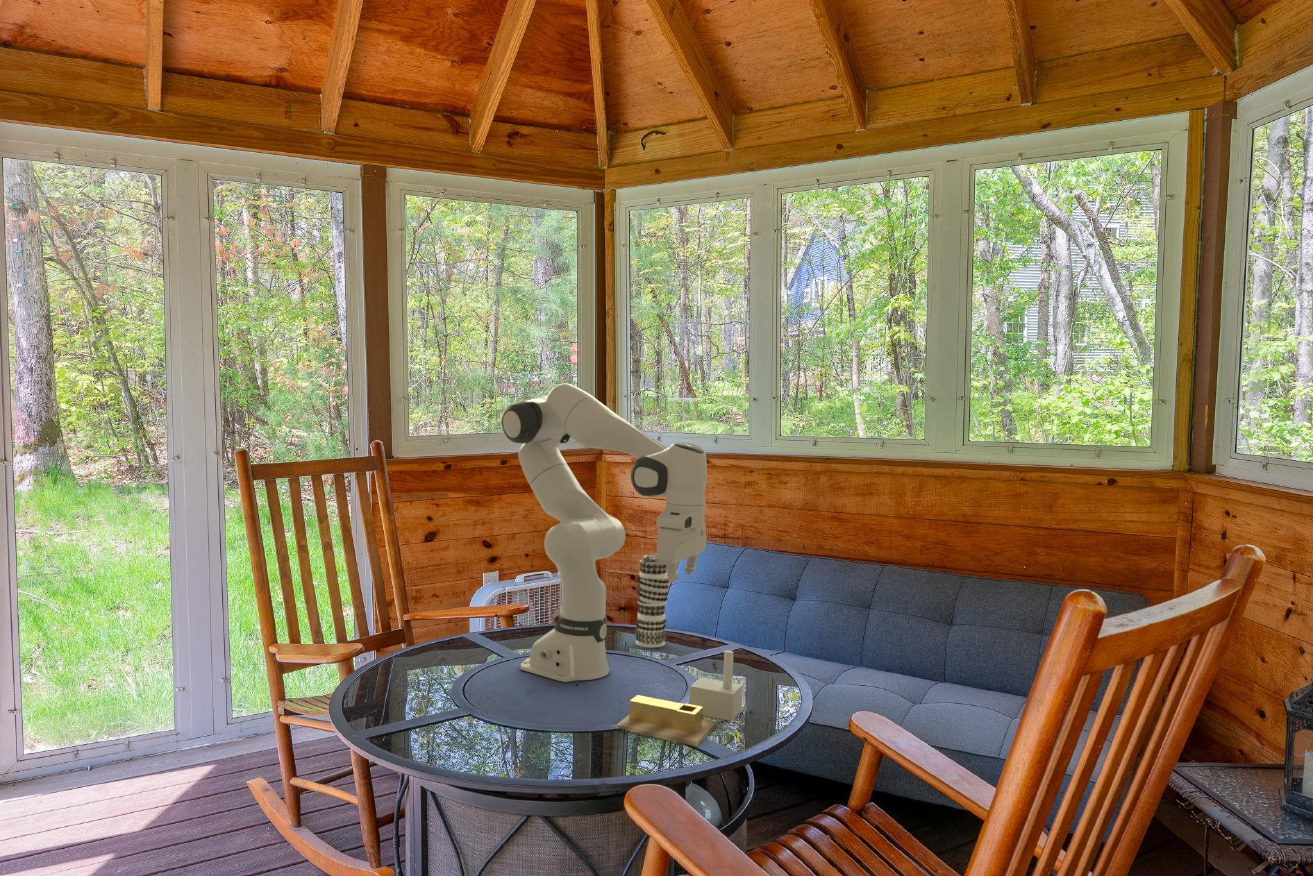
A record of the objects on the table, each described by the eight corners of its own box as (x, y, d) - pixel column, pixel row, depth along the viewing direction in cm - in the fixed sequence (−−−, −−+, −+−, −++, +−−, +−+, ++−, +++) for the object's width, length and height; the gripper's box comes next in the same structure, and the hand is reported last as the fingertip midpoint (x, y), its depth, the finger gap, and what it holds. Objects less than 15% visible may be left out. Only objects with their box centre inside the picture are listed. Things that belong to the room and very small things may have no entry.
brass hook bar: (627, 719, 181) (628, 701, 181) (637, 712, 186) (638, 694, 185) (693, 733, 175) (694, 714, 175) (702, 725, 180) (703, 706, 179)
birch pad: (616, 729, 178) (616, 724, 178) (639, 710, 189) (640, 706, 189) (696, 746, 171) (696, 741, 171) (716, 726, 182) (716, 721, 182)
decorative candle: (631, 646, 238) (634, 557, 237) (637, 637, 247) (640, 552, 246) (663, 649, 236) (667, 560, 235) (668, 640, 245) (672, 554, 244)
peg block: (688, 712, 189) (691, 650, 189) (699, 702, 196) (702, 642, 195) (731, 721, 185) (734, 657, 185) (741, 710, 192) (744, 649, 191)
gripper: (689, 509, 200) (686, 567, 201) (653, 519, 182) (649, 583, 182) (714, 512, 198) (711, 571, 198) (680, 523, 179) (676, 587, 180)
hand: (681, 577), depth 190 cm, fingers open, 8 cm apart
